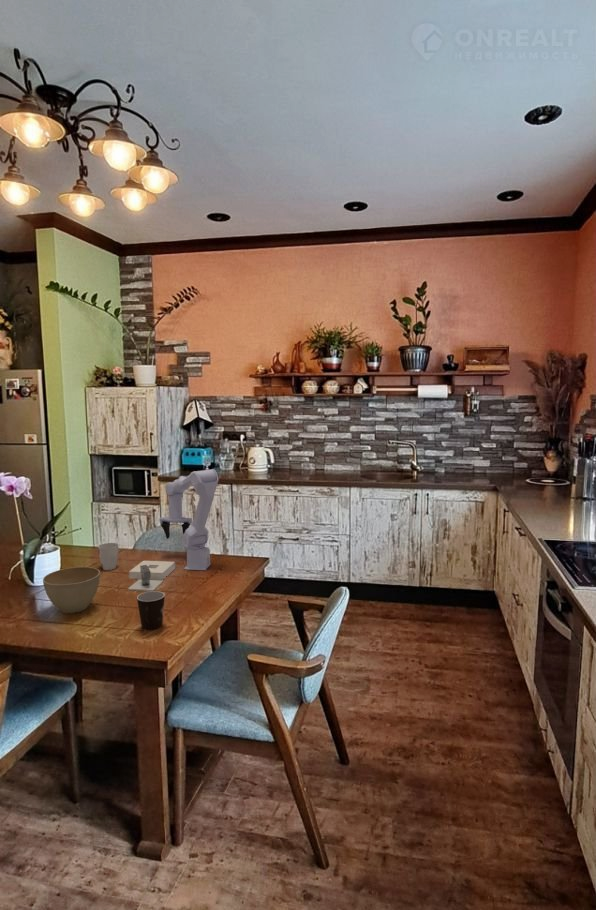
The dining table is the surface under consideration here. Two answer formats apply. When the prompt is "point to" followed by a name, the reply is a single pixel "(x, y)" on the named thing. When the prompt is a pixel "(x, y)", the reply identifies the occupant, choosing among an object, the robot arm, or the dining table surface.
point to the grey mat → (139, 587)
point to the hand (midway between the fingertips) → (176, 538)
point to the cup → (108, 555)
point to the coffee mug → (151, 609)
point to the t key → (145, 575)
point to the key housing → (153, 570)
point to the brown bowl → (72, 588)
